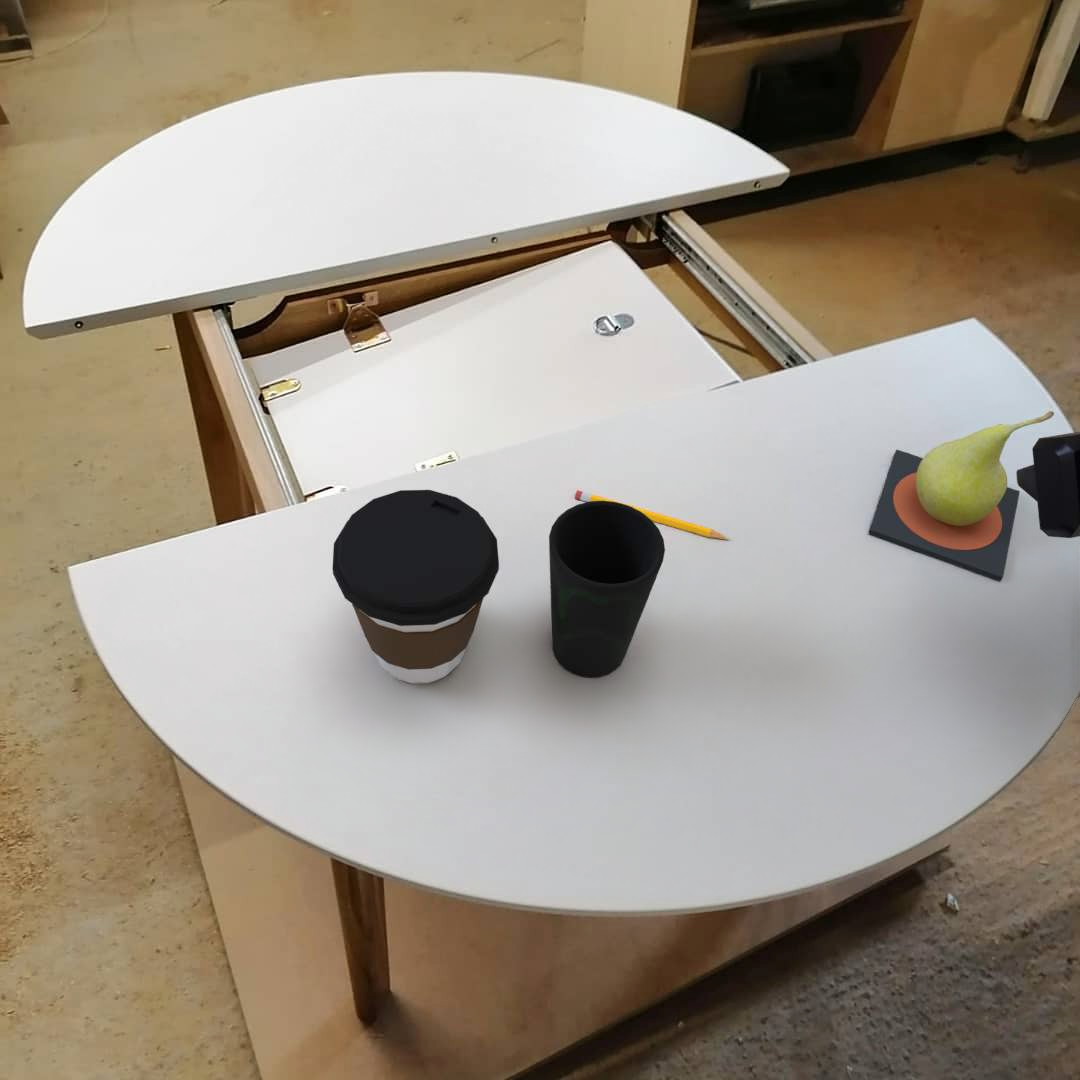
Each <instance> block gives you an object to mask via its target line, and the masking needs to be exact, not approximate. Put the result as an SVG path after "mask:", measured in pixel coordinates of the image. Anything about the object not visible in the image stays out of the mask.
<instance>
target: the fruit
mask: <svg viewBox="0 0 1080 1080" xmlns="http://www.w3.org/2000/svg"><path fill="white" fill-rule="evenodd" d="M1054 416H1055V412H1054V411H1052V410H1049V411H1048V412H1046V413H1045V414H1043V415H1041V416H1039V417H1036V418H1031V419H1028V420H1027V419H1026V420H1024V421H1021V422H1017V423H1014V424H1007V423H1005V424H1004V423H1000V424H997V425H993V426H990V427H985V428H983V429H980V430H978V431H975V432H973V433H972V434H969V435H967V436H964V437H961V438H958V439H954V440H951V441H947V442H944V443H942V444H941V443H940V444H939V445H936V446H935V447H933V448H932V449H930V450H929V451H928V452H927V453H926V454H925V455H924V457H922V458H923V459H922V461H921V463H920V465H919V467H918V470H917V475H916V488H917V493H918V497H919V500H920V503H921V505H922V506H923V508H924V509H925V511H926V512H927V513H928V514H929V515H930V516H932V517H933V518H935V519H936V520H939V521H941V522H944V523H947V524H950V525H955V526H964V525H969V524H973V523H975V522H977V521H979V520H981V519H983V518H984V517H986V516H987V515H988V514H989V513H990V512H991V511H992V510H993V509H994V508H995V507H996V506H997V505H998V503H999V502H1000V500H1001V499H1002V497H1003V495H1004V493H1005V491H1006V488H1007V487H1008V474H1007V471H1006V470H1005V467H1004V466H1003V464H1002V463H1001V461H1000V458H1001V454H1002V453H1003V450H1004V447H1005V445H1006V443H1007V441H1008V439H1009V438H1010V436H1011V435H1012V434H1013V433H1014V432H1015V431H1017V430H1019V429H1021V428H1024V427H1027V426H1030V425H1034V424H1039V423H1043V422H1045V421H1048V420H1050V419H1051V418H1052V417H1054Z"/></svg>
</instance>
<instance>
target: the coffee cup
mask: <svg viewBox="0 0 1080 1080" xmlns="http://www.w3.org/2000/svg"><path fill="white" fill-rule="evenodd" d="M498 547H499V546H498V539H497V537H496V535H495V534H494V532H493V531H492V529H491V527H490V525H488V523H487V521H486V520H485V518H484V517H483V516H482V515H481V514H480V512H479V511H477V509H475V508H473V507H472V506H471V505H469V504H468V503H466V502H465V501H463V500H462V499H460V498H459V497H457V496H454V495H451V494H446V493H444V492H438V491H436V490H432V489H402V490H401V489H400V490H397V491H394V492H391V493H387V494H385V495H381V496H378V497H376V498H372V499H371V500H370V501H368V502H367V503H366V504H364V505H363V506H361V507H360V508H359V509H358V510H356V511H355V512H354V513H351V515H350V516H349V518H348V519H347V521H346V523H344V526H343V527H342V529H341V531H340V532H339V534H338V536H337V537H336V539H335V541H334V542H333V549H332V550H333V552H332V575H333V577H334V579H335V581H336V583H337V586H338V587H339V589H340V592H341V594H342V595H343V598H344V599H345V600H346V601H348V602H349V603H350V604H351V605H352V607H353V610H354V612H355V615H356V617H357V620H358V622H359V625H360V628H361V631H362V632H363V635H364V637H365V639H366V642H367V643H368V646H369V648H370V649H371V651H372V652H373V654H374V656H375V658H376V660H377V662H378V664H379V666H380V667H381V668H382V669H383V670H384V671H386V672H387V673H388V674H390V676H392V677H393V678H395V679H396V680H397V681H402V682H405V683H409V684H411V685H417V684H419V685H420V684H431V683H434V682H436V681H438V680H441V679H443V678H445V677H446V676H447V675H449V674H450V673H451V672H452V671H453V670H454V669H455V668H456V667H457V666H459V664H460V663H461V661H462V659H463V656H464V654H465V652H466V650H467V647H468V645H469V643H470V640H471V638H472V636H473V634H474V631H475V628H476V625H477V621H478V618H479V615H480V611H481V608H482V605H483V601H484V598H485V597H486V596H487V595H488V594H489V593H490V590H491V588H492V586H493V584H494V582H495V580H496V577H497V574H498V572H499V569H500V560H499V548H498Z"/></svg>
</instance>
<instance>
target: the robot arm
mask: <svg viewBox="0 0 1080 1080" xmlns="http://www.w3.org/2000/svg"><path fill="white" fill-rule="evenodd" d="M1031 450H1032V460H1033V461H1032V462H1033V464H1031V465H1028V466H1024V467H1022V468H1019V469H1017V470H1016V472H1015V473H1016V483H1017V486H1018V487H1019V488H1020V489H1022V490H1023V491H1024V492H1025V493H1026V494H1027V495H1029V497H1031V498H1032V499H1033V500H1034V501H1035V502H1036V503H1037V511H1038V523H1039V530H1040V531H1041V532H1043V533H1044V534H1045V535H1046V536H1047V537H1052V538H1063V539H1074V538H1078V537H1080V431H1076V432H1075V431H1074V432H1069V433H1063V434H1056V435H1051V436H1043V437H1039V438H1038V439H1037V441H1036V442H1035V444H1034V445H1033V446H1032V448H1031Z"/></svg>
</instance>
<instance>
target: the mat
mask: <svg viewBox="0 0 1080 1080" xmlns="http://www.w3.org/2000/svg"><path fill="white" fill-rule="evenodd" d="M894 451H895V452H894V454H893V456H892V461H891V463H890V466H889V469H888V472H887V475H886V478H885V481H884V484H883V488H882V491H881V494H880V496H879V500H878V502H877V506H876V509H875V512H874V515H873V518H872V521H871V524H870V527H869V530H868V532H867V533H868V535H870V536H873V537H875V538H878V539H881V540H884V541H887V542H889V543H892V544H895V545H897V546H901V547H903V548H906V549H909V550H912V551H914V552H917V553H919V554H923V555H925V556H927V557H931V558H933V559H937V560H940V561H942V562H945V563H947V564H951V565H953V566H955V567H959V568H961V569H964V570H967V571H969V572H970V571H971V572H972V573H976V574H978V575H981V576H984V577H986V578H989V579H992V580H995V581H998V582H1001V581H1002V579H1003V578H1004V573H1005V569H1006V563H1007V558H1008V553H1009V548H1010V542H1011V538H1012V532H1013V527H1014V522H1015V518H1016V512H1017V508H1018V502H1019V499H1020V498H1019V497H1020V492H1021V491H1020V490H1017V489H1015V488H1012V487H1009V486H1007V488H1006V491H1005V493H1004V495H1003V497H1002V499H1001V500H1000V502H999V503H998V505H997V506H996V507H995V508H994V509H993V510H992V511H991V512H990V513H989V514H988V515H987V516H986V517H984V518H983V519H981V520H979V521H977V522H975V523H973V524H969V525H964V526H955V525H950V524H947V523H944V522H941V521H939V520H936V519H935V518H933V517H932V516H930V515H929V514H928V513H927V512H926V511H925V509H924V508H923V506H922V505H921V503H920V500H919V497H918V493H917V488H916V475H917V470H918V467H919V465H920V463H921V461H922V459H923V458H924V457H921V456H918V455H915V454H911V453H909V452H905V451H903V450H899V449H895V450H894Z"/></svg>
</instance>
